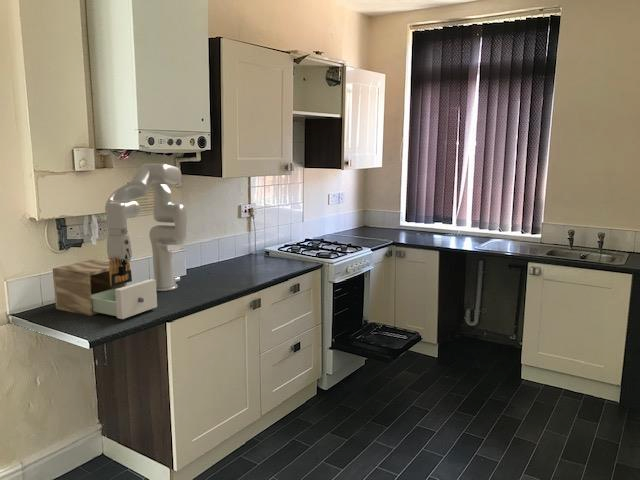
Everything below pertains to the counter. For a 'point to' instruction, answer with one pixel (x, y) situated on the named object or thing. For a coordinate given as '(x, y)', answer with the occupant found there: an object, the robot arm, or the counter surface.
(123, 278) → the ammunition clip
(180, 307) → the counter surface
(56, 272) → the cabinet
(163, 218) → the robot arm
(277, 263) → the counter surface
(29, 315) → the counter surface
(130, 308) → the drawer
